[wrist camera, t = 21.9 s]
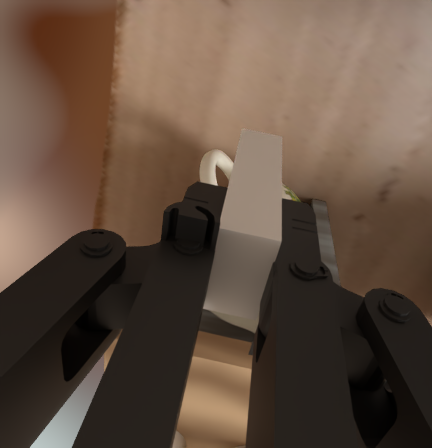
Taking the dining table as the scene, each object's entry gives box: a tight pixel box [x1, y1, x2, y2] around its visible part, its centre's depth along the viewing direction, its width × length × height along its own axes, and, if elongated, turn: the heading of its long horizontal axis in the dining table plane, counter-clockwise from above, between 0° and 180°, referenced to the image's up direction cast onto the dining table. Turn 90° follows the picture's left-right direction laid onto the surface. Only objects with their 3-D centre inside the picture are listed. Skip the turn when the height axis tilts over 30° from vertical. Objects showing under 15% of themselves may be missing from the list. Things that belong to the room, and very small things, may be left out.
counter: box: [104, 199, 341, 448], centre depth 38 cm, size 16×16×23 cm
